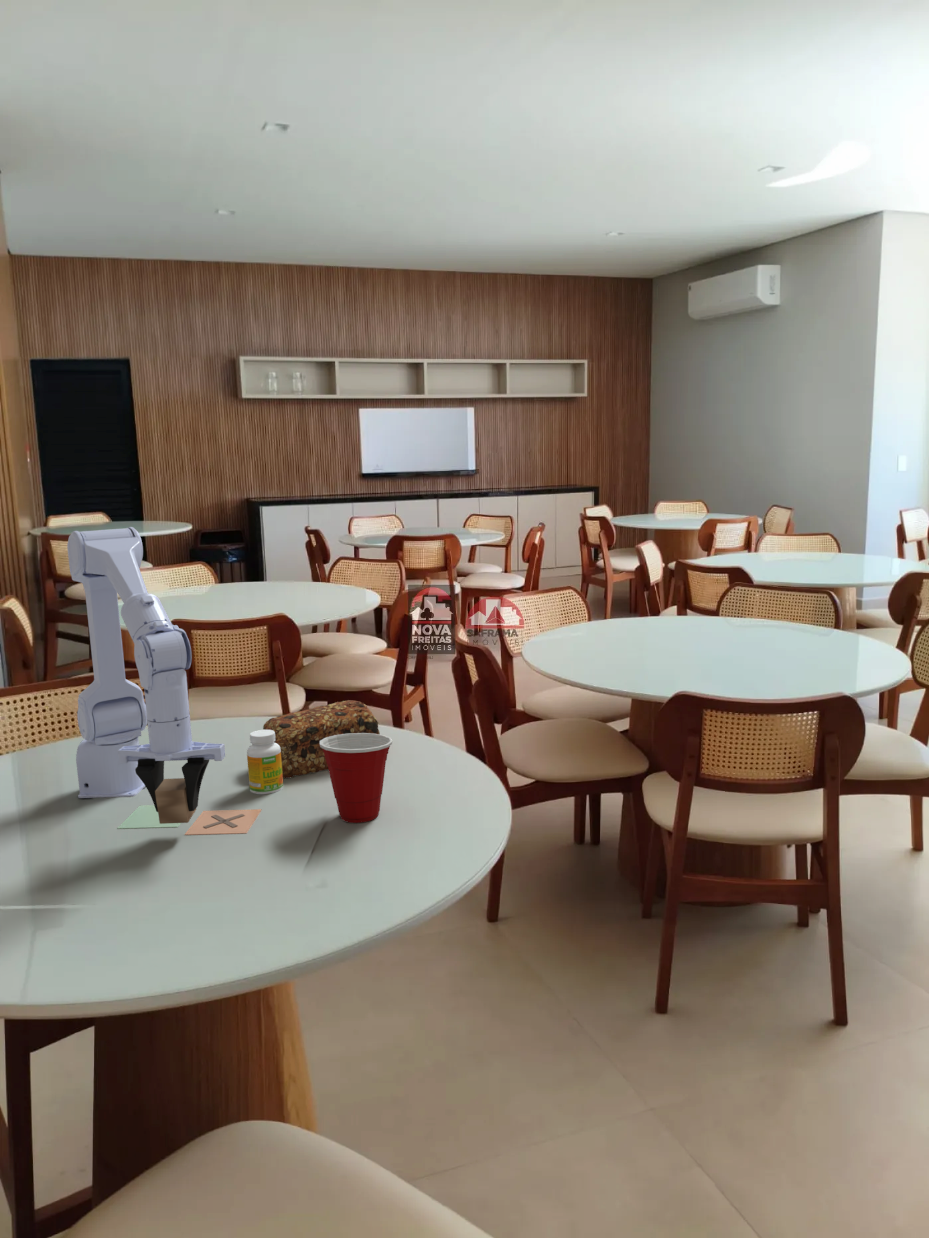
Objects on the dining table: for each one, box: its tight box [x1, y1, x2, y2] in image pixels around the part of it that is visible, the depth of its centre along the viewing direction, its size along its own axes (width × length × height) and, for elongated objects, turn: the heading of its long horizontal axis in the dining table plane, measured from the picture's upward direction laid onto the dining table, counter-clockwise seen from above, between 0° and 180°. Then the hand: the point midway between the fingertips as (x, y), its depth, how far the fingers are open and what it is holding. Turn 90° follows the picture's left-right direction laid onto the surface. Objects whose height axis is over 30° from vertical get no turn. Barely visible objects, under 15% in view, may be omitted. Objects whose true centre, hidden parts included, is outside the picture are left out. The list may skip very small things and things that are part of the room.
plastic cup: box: [320, 733, 393, 824], centre depth 136 cm, size 11×11×12 cm
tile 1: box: [116, 804, 182, 830], centre depth 139 cm, size 9×9×1 cm
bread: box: [262, 699, 381, 779], centre depth 162 cm, size 19×11×10 cm, turn 119°
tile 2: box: [184, 808, 263, 836], centre depth 136 cm, size 9×9×1 cm
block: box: [155, 777, 197, 824], centre depth 130 cm, size 4×4×5 cm
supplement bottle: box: [246, 729, 284, 795], centre depth 148 cm, size 5×5×10 cm
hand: (177, 808), depth 130 cm, fingers closed on block, 4 cm apart
